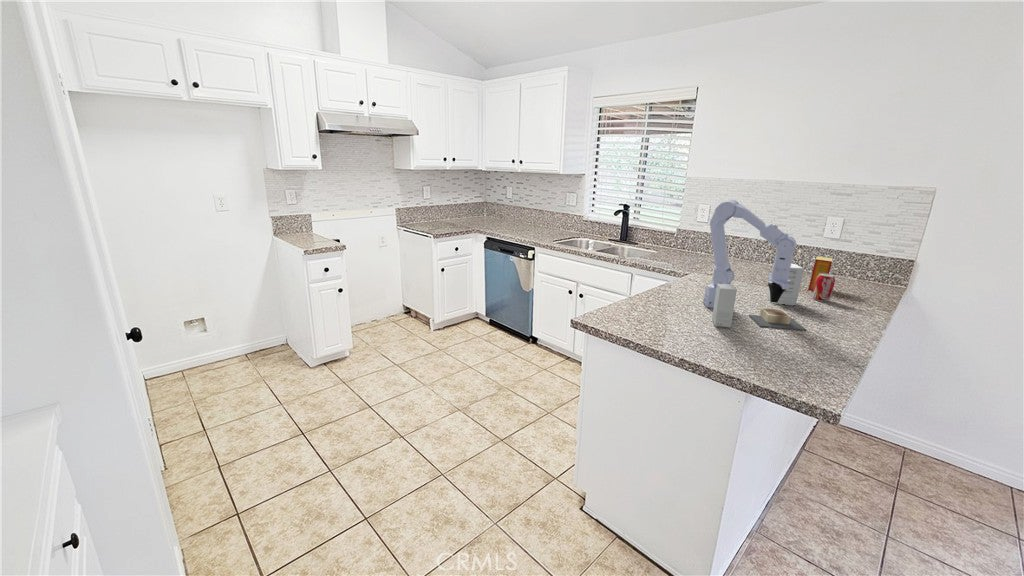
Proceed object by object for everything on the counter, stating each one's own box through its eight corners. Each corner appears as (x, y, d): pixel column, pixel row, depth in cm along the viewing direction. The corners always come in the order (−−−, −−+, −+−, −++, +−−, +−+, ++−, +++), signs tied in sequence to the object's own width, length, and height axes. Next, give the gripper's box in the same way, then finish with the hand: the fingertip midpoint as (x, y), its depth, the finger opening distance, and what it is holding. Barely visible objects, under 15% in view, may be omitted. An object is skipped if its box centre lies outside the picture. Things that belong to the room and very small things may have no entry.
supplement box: (796, 306, 188) (805, 268, 183) (773, 304, 189) (781, 266, 184) (787, 299, 197) (795, 263, 192) (765, 297, 198) (773, 261, 193)
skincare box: (730, 328, 160) (738, 290, 155) (713, 326, 161) (720, 288, 157) (727, 320, 167) (734, 284, 163) (710, 318, 169) (717, 282, 165)
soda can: (813, 301, 195) (819, 275, 192) (809, 296, 202) (815, 272, 198) (831, 303, 193) (838, 277, 189) (827, 299, 199) (833, 273, 196)
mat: (759, 326, 162) (760, 325, 162) (748, 315, 174) (749, 314, 173) (806, 330, 160) (806, 329, 160) (792, 319, 171) (792, 318, 171)
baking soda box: (809, 286, 220) (817, 255, 215) (825, 288, 216) (833, 257, 211) (808, 290, 212) (815, 258, 208) (824, 292, 209) (832, 260, 204)
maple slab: (758, 314, 174) (767, 322, 166) (760, 307, 173) (768, 314, 165) (780, 316, 172) (789, 324, 164) (782, 309, 172) (791, 316, 164)
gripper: (801, 273, 159) (793, 308, 163) (784, 264, 173) (777, 297, 177) (780, 272, 160) (772, 307, 164) (765, 263, 174) (758, 295, 178)
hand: (773, 301), depth 170 cm, fingers closed
